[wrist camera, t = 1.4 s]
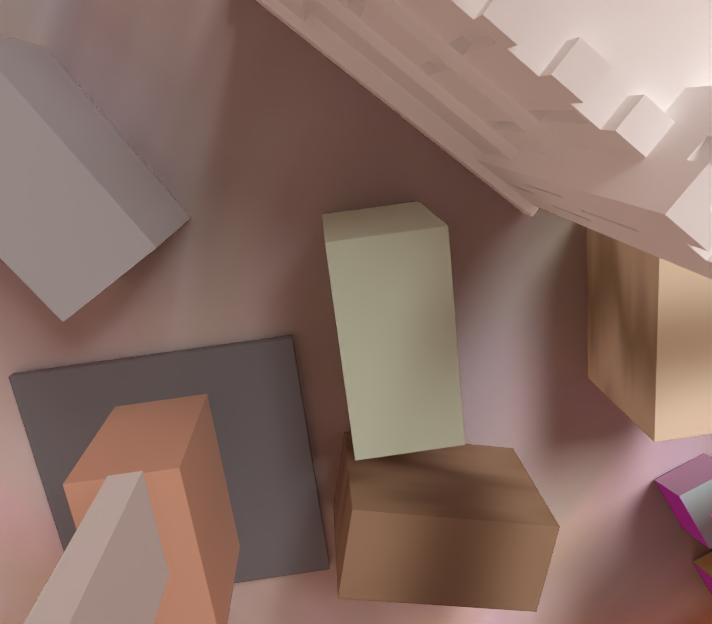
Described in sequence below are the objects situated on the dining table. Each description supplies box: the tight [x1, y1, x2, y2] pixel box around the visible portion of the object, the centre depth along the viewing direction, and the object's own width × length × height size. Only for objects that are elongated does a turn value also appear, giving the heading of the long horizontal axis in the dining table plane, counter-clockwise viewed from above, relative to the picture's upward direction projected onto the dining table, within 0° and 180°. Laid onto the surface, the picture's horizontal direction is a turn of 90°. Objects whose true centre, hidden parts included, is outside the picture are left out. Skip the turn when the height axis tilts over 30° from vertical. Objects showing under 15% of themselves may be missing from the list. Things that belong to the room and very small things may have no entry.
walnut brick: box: [333, 432, 560, 612], centre depth 27 cm, size 8×4×6 cm, turn 82°
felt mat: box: [9, 335, 329, 583], centre depth 29 cm, size 12×12×1 cm
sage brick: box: [322, 201, 465, 461], centre depth 24 cm, size 8×4×6 cm, turn 7°
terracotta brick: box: [63, 394, 240, 624], centre depth 26 cm, size 8×4×6 cm, turn 7°
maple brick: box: [586, 227, 712, 442], centre depth 25 cm, size 8×4×6 cm, turn 7°
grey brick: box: [0, 35, 191, 322], centre depth 22 cm, size 8×4×6 cm, turn 37°
